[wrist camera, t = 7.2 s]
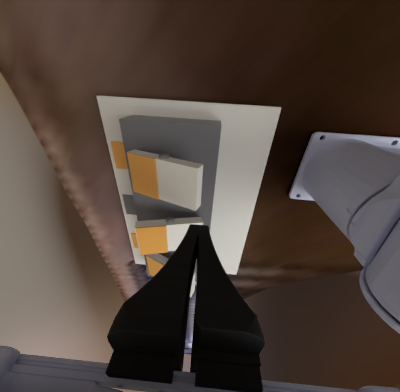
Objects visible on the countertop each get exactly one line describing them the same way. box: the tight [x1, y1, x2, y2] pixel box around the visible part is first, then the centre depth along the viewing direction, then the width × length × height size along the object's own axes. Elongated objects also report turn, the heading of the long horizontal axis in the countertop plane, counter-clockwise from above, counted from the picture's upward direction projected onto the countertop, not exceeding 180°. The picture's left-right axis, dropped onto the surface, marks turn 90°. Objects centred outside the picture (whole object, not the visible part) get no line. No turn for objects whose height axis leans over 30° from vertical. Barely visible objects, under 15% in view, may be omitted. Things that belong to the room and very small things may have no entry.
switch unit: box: [96, 96, 281, 282], centre depth 23 cm, size 18×26×4 cm
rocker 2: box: [135, 217, 203, 255], centre depth 19 cm, size 7×4×1 cm, turn 88°
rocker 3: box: [146, 253, 196, 297], centre depth 23 cm, size 7×4×1 cm, turn 85°
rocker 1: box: [127, 149, 203, 211], centre depth 15 cm, size 7×4×1 cm, turn 86°
